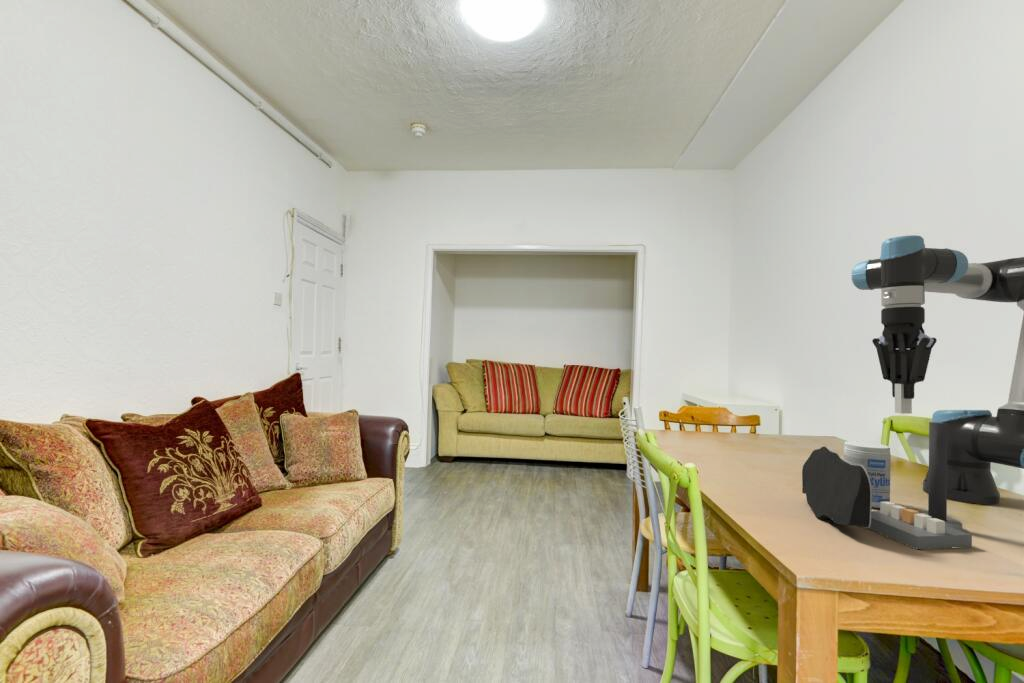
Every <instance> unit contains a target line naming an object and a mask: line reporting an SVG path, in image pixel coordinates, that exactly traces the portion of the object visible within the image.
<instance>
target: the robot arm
mask: <svg viewBox="0 0 1024 683" xmlns="http://www.w3.org/2000/svg"><path fill="white" fill-rule="evenodd" d="M880 248H881V249H880V257H879V258H876V259H875V258H874V259H868V260H865V261H861V262H858V263H856V264H855V265H854V266H853V268H852V270H851V281H852V284H853V285H854V286H855V287H856V289H858V290H861V291H865V290H866V291H868V290H869V291H874V290H877V289H878V290H879V289H880V291H881V292H880V294H881V297H880V298H881V299H880V300H881V306H882V307H884V308H882V309H881V310H880V311H881V314H880V317H881V318H880V321H881V322H880V323H881V325H882V326H883V330H882V332H881V335H880V336H879V337H878V338H873V339H872V344H873V345H874V347H875V348H876V353H877V357H878V362H879V364H880V370H881V375H882V379H883V380H885V381H890V383H891V387H892V388H891V391H892V392H891V393H892V398H894V413H895V414H901V415H904V414H907V415H908V414H913V412H912V410H913V409H912V408H913V406H912V400H913V399H914V398H915V385H916V383H921V382H925V379H926V373H927V370H928V367H929V362H930V358H931V354H932V349H933V348H934V346H935V344H936V343H937V338H935V337H930V336H928V335H927V334H925V330H924V328H923V325H924V323H925V322H926V321H925V320H926V319H925V318H926V317H925V316H926V313H925V312H926V311H925V310H926V308H924V306H923V305H925V304H926V301H925V300H926V298H925V294H926V293H938V294H950V295H951V294H953V295H956V296H957V297H958V298H961V299H966V300H967V299H968V300H976V301H977V300H978V301H987V302H995V303H996V302H997V303H1016V306H1017V307H1019V309H1021V310H1022V311H1023V312H1024V256H1021V257H1014V258H1008V259H1007V258H1006V259H1001V260H995V261H989V262H983V263H979V262H978V263H977V262H971V263H969V259H968V257H967V256H966V254H964V253H963V252H962V251H960V250H957V249H950V248H948V247H945V248H935V247H934V248H932V247H926V244H925V239H924V237H922V236H921V235H913V234H912V235H902V236H901V235H900V236H894V237H891V238H887V239H885V240H884V241H883V242H882V243H881V247H880ZM922 306H923V307H922ZM1019 331H1020V332H1019V338H1018V344H1017V348H1016V349H1017V350H1016V355H1015V359H1014V365H1013V372H1012V375H1011V384H1010V389H1009V394H1008V400H1007V403H1006V404H1004V405H1002V406H999V407H998V408H997V411H996V416H993V413H992V412H991V410H990V409H989V410H988V409H943V410H942V409H940V410H936V411H934V412H933V413H932V417H931V422H938V423H946V424H947V500H948V499H949V500H952V501H957V502H964V503H971V504H980V505H995V504H1000V503H1001V493H1000V491H999V490H998V487H997V485H996V482H995V478H994V476H993V474H992V471H991V470H992V469H991V463H992V464H997V465H1004V466H1007V467H1013V468H1018V469H1024V314H1023V316H1022V321H1021V327H1020V330H1019ZM922 490H923V491H924V492H926V493H928V494H929V469H928V470H927V472H926V475H925V478H924V479H923V481H922Z"/></svg>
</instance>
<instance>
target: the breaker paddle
mask: <svg viewBox="0 0 1024 683" xmlns="http://www.w3.org/2000/svg"><path fill="white" fill-rule="evenodd" d="M919 513H920V512H919V511H918V510H915V509H912V508H907V509H902V521H904V522H907V523H910V524H914V514H919Z"/></svg>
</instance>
